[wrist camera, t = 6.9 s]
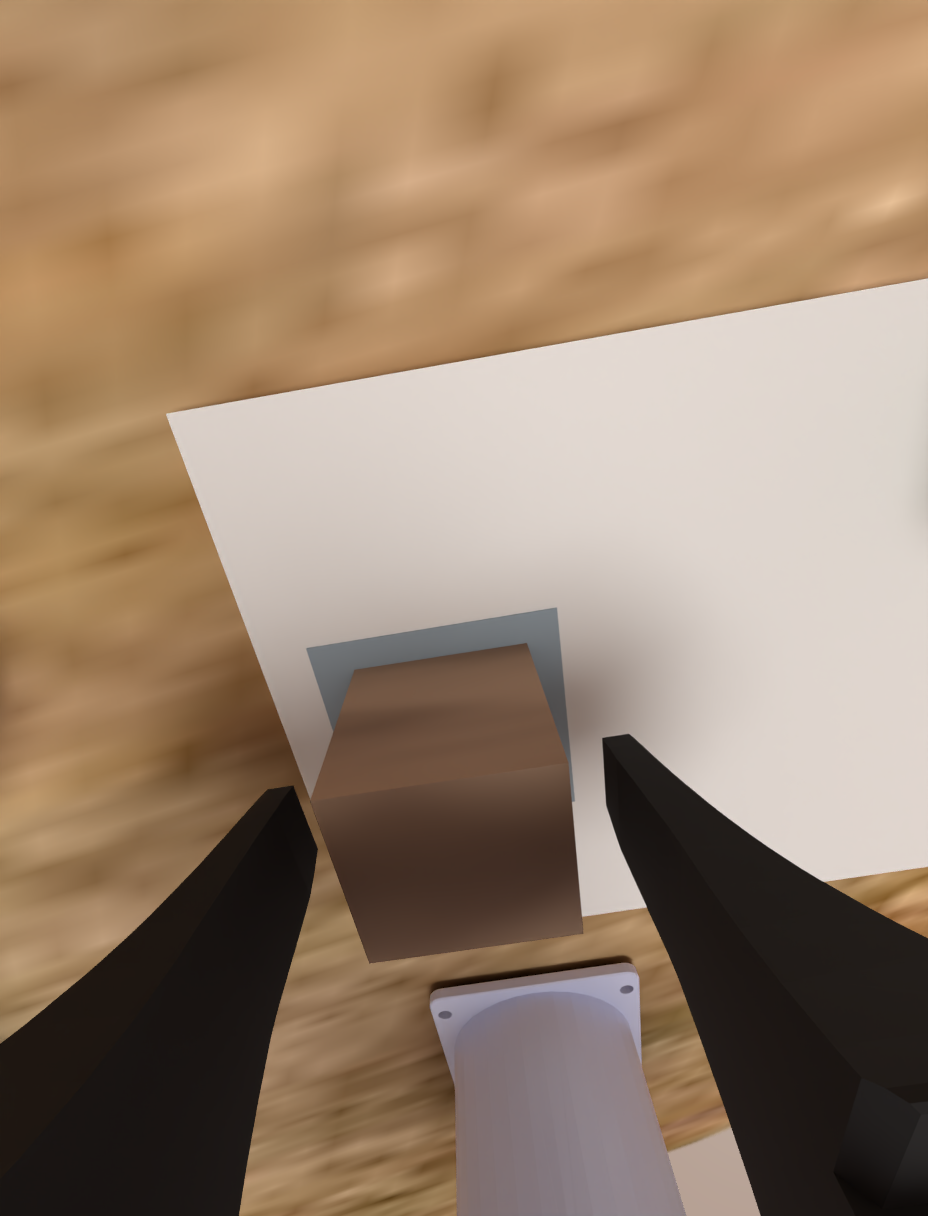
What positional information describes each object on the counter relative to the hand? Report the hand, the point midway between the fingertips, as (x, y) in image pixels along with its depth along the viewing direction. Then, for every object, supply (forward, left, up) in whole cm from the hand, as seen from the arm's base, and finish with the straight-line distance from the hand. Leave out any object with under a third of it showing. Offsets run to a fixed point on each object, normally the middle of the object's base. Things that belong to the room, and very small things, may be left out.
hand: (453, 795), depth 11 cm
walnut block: (0, 0, -2) cm, 2 cm away
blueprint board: (0, -8, -3) cm, 8 cm away
